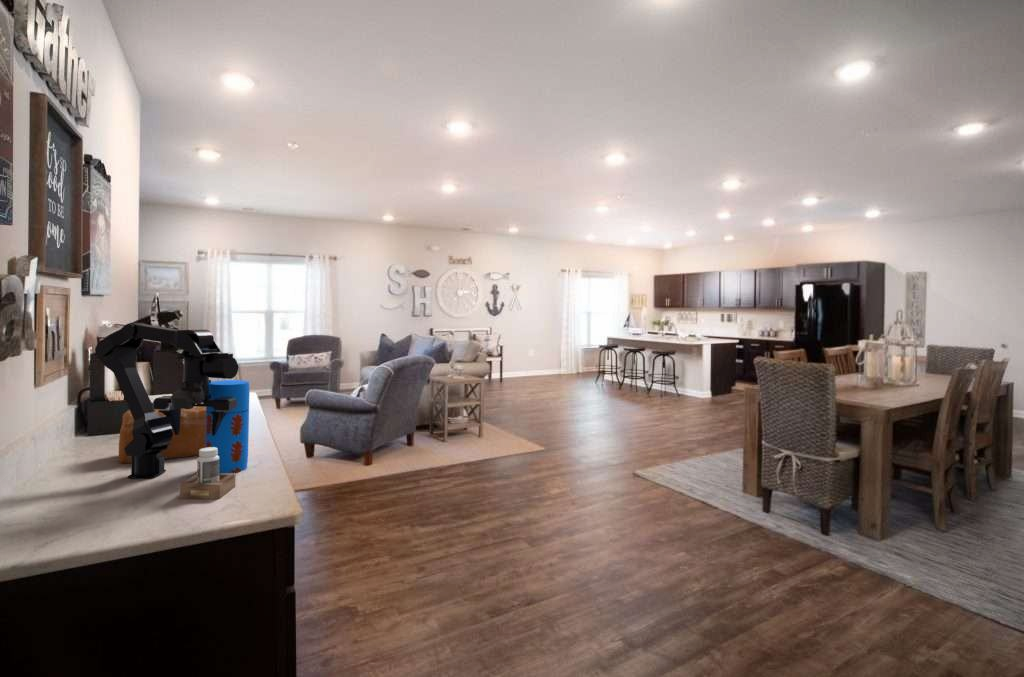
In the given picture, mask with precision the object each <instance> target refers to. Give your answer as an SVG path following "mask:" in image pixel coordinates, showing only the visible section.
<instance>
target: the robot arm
mask: <svg viewBox="0 0 1024 677" xmlns="http://www.w3.org/2000/svg"><path fill="white" fill-rule="evenodd" d="M144 340H146V341H152V342H156V343H157V342H159V343H165V344H170V345H172V346H174V347H175V348H176V349H179V350H182V352H181V353H179V354H177V356H176V358H175V359H176V360H183V381H180V385H179V389H177V390H175V392H174V393H172V394H171V395H163V396H159V397H155V398H154V400H153V401H152V402H151V399H150V397H149V394H148V392H147V390H146V388H145V386H144V383H143V381H142V378H141V376H140V374H139V371H138V369H137V367H136V363H137V360H138V359H137V358H138V353H137V350H138V349H139V348H140V347H141V346H142V345H143V342H144ZM94 350H95V354H96V356H97V358H98V359H99V361H100V363H101V364H102V365H103V366H104V367H106V368H107V369H108V370H110V371H111V372H112V373H113V375H114V377H115V379H116V381H117V384H118V386H119V388H120V391H121V392H122V395H123V397H124V400H125V402H126V404H127V406H128V410H130V411H131V414H132V416H133V418H134V424H133V429H132V434H133V438H134V439H133V440H132V441H131V442H130V443H129V444H128V445H127V446H126V447H125V448H124V449H125V453H126V455H127V456H132V458H131V463H130V464H131V466H130V467H131V470H130V473H131V474H129V475H127V476H126V477H127V479H154V478H156V477H157V476H160V475H162V474H163V473H166V472H167V470H166V469H165V459H164V457H163V451H162V450H166V449H168V446H169V443H170V441H171V439H172V437H173V432H172V429H173V431H174V434H175V435H179V430H180V417H181V409H192V408H193V407H194V406H198V407H213V408H214V409H215V410H214V411H212V412H211V413H212V416H213V422H212V436H214V435H216V432H217V430H218V428H219V426H220V424H221V422H222V420H223V418H224V416H225V415H226V413H227V412H228V411H231V410H232V409H233V408H235V407H237V400H236V398H235V397H219V398H216V399H214V400H209V399H210V398H211V395H209V384H210V383H211V382H212V379H224V380H233V378H235V377H236V376H237V375H238V372H239V364H238V361H237V359H236V358H235V357H234V353H233V352H223V351H222V349H221V348H220V346H219V344H218V343H217V341H216V340H215V338H214V335H213V333H212V331H210V330H208V329H176V328H170V327H163V326H159V325H158V326H157V325H151V324H147V323H145V322H129V323H126V324H125V325H123V326H122V327H121V328H120V329H118V330H116V331H114V332H112V333H110V334H109V335H107V336H105V337H104V338H102V339H100V340H99V341H98V342H97V343H96V346H95V348H94ZM211 378H212V379H211ZM154 409H160V410H158V412H160V413H163V414H164V415H166V416H162V417H160V416H159V415H158V414H156V412H155V410H154Z"/></svg>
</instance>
